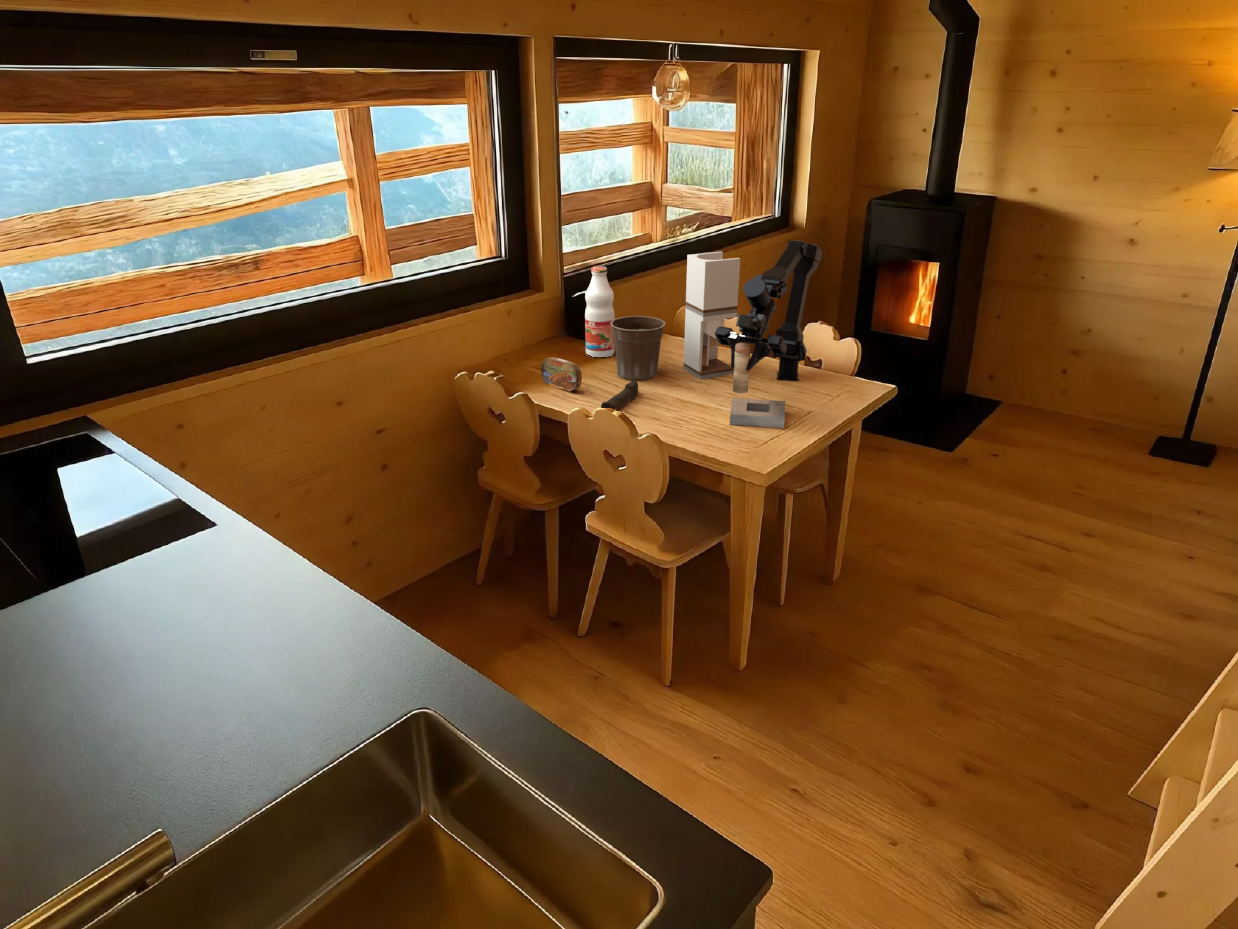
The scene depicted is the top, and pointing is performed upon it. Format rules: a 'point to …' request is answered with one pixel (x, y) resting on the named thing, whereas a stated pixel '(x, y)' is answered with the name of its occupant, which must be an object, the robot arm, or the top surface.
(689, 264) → the white tower stand
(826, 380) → the top surface
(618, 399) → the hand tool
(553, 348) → the top surface
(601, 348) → the fruit juice
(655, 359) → the plant pot
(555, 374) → the tin
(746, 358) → the beech pin
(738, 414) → the square hole block
